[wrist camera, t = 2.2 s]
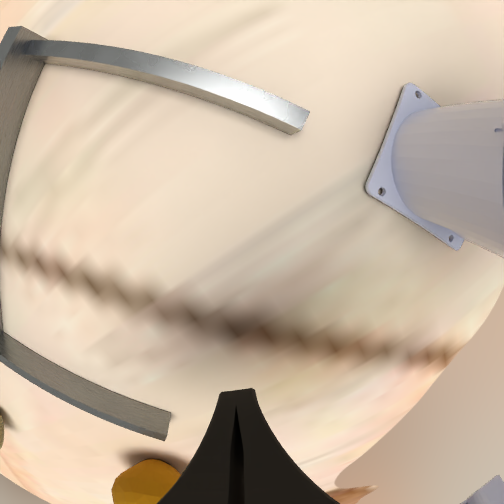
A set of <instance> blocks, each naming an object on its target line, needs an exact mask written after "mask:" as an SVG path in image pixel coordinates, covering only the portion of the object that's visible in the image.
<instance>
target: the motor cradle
mask: <svg viewBox="0 0 504 504" xmlns="http://www.w3.org/2000/svg"><path fill="white" fill-rule="evenodd" d="M45 63H47V64H56V65H63V66H71V67H77V68H83V69H89V70H94V71H100V72H105V73H110V74H114V75H119V76H123V77H127V78H132V79H136V80H140V81H144V82H147V83H151V84H155V85H158V86H162V87H165V88H169V89H172V90H175V91H179V92H182V93H185V94H188V95H191V96H194V97H197V98H200V99H203V100H206V101H209V102H211V103H214V104H217V105H220V106H222V107H225V108H228V109H230V110H233V111H236V112H238V113H241V114H243V115H246V116H248V117H251V118H253V119H255V120H258V121H260V122H262V123H265V124H267V125H269V126H272V127H274V128H276V129H278V130H281V131H283V132H285V133H287V134H289V135H292V134H294V133H296V132H299V131H301V130H302V128H303V126H304V124H305V122H306V119H307V117H308V115H309V113H310V111H308V110H306V109H304V108H302V107H300V106H297V105H295V104H293V103H291V102H289V101H287V100H285V99H282V98H280V97H278V96H276V95H273V94H271V93H269V92H266V91H264V90H262V89H259V88H257V87H254V86H252V85H249V84H247V83H244V82H241V81H239V80H236V79H233V78H231V77H228V76H225V75H222V74H219V73H216V72H213V71H210V70H207V69H204V68H201V67H198V66H194V65H191V64H188V63H184V62H180V61H177V60H173V59H169V58H165V57H161V56H157V55H153V54H148V53H144V52H139V51H134V50H129V49H124V48H118V47H112V46H105V45H98V44H90V43H80V42H69V41H52V40H47V39H45V38H43V37H42V36H40V35H38V34H36V33H34V32H32V31H30V30H29V29H27V28H25V27H23V26H17V27H9V28H8V30H7V32H6V34H5V35H4V37H3V39H2V41H1V43H0V234H1V222H2V213H3V205H4V197H5V191H6V185H7V179H8V174H9V169H10V164H11V160H12V156H13V152H14V148H15V144H16V140H17V136H18V133H19V129H20V126H21V123H22V120H23V117H24V114H25V111H26V108H27V105H28V102H29V99H30V97H31V94H32V92H33V89H34V87H35V84H36V82H37V79H38V77H39V75H40V72H41V70H42V68H43V66H44V64H45ZM0 361H1V362H2V363H3V364H5V365H6V366H8V367H9V368H10V369H12V370H13V371H15V372H16V373H18V374H19V375H21V376H22V377H24V378H25V379H27V380H29V381H30V382H32V383H33V384H35V385H37V386H38V387H40V388H42V389H44V390H45V391H47V392H49V393H51V394H52V395H54V396H56V397H58V398H60V399H62V400H63V401H65V402H67V403H69V404H71V405H73V406H75V407H77V408H79V409H82V410H84V411H86V412H88V413H90V414H92V415H95V416H97V417H99V418H101V419H104V420H106V421H109V422H111V423H114V424H116V425H119V426H121V427H124V428H127V429H129V430H132V431H135V432H138V433H141V434H143V435H147V436H150V437H153V438H156V439H159V440H162V441H165V439H166V437H167V433H168V427H169V422H170V416H171V413H170V412H167V411H164V410H161V409H158V408H155V407H152V406H149V405H146V404H143V403H140V402H138V401H135V400H132V399H130V398H127V397H124V396H122V395H119V394H117V393H115V392H112V391H110V390H107V389H105V388H103V387H101V386H98V385H96V384H94V383H92V382H90V381H87V380H85V379H83V378H81V377H79V376H77V375H75V374H73V373H71V372H69V371H67V370H65V369H63V368H61V367H60V366H58V365H56V364H54V363H52V362H51V361H49V360H47V359H45V358H44V357H42V356H40V355H38V354H37V353H35V352H33V351H32V350H30V349H29V348H27V347H25V346H24V345H22V344H21V343H19V342H18V341H16V340H15V339H13V338H12V337H10V336H9V335H7V334H6V333H4V332H3V325H2V316H1V304H0Z"/></svg>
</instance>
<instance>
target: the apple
mask: <svg viewBox="0 0 504 504" xmlns="http://www.w3.org/2000/svg"><path fill="white" fill-rule="evenodd" d="M180 476H181V474H180V473H179V472H178V471H177V470H176V469H175V468H174V467H172V466H171V465H169V464H167V463H165V462H163V461H161V460H156V459H146V460H144V461H141V462H140V463H138V464H136V465H134V466H133V467H131V468H129V469H127V470H126V471H124V472H123V473H121V474H120V475H119V476H118V477H117V478H116V479H115V482H114V484H113V487H112V496H113V502H114V504H157V503H158V502H159V501H160V499H161V498H162V497H163V496H164V495H165V494H166V493H167V492H168V491H169V490H170V489H171V488H172V486H173V485H174V484H175V483H176V481H177V480H178V479H179V477H180Z"/></svg>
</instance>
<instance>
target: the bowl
mask: <svg viewBox="0 0 504 504" xmlns="http://www.w3.org/2000/svg"><path fill="white" fill-rule="evenodd" d="M3 440H4V423H3V419H2V417H1V415H0V449H1V447H2V445H3Z"/></svg>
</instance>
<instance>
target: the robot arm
mask: <svg viewBox="0 0 504 504" xmlns="http://www.w3.org/2000/svg"><path fill="white" fill-rule="evenodd" d="M415 92H416V93H417V94H418V98H417V97H416V95H415ZM365 188H366V192H367V193H368V194H369V195H370V196H372V197H374V198H376V199H377V200H379V201H381V202H382V203H384V204H386V205H387V206H389V207H391V208H392V209H394V210H396V211H397V212H399V213H400V214H402V215H404V216H405V217H407V218H408V219H410V220H411V221H413V222H414V223H416V224H418V225H419V226H421V227H422V228H424V229H425V230H427V231H428V232H429V233H431V234H432V235H434V236H435V237H437V238H438V239H440V240H441V241H442V242H444V243H445V244H447V245H448V246H449V247H451V248H452V249H454V250H459V249H460V248H461V246H462V243H463V241H464V240H467V241H469V242H471V243H473V244H476V245H478V246H480V247H482V248H484V249H486V250H488V251H490V252H493V253H495V254H497V255H499V256H501V257H503V258H504V99H503V100H491V101H481V102H472V103H464V104H457V105H450V106H443V107H441V106H439V105H438V104H437V103H436V102H435V101H434V100H433V99H431V98H430V97H429V96H428V95H427V94H425V93H424V92H423V91H422V90H421V89H419V88H418V87H417V86H415V85H414V84H412V83H407V84H405V85H404V87H403V90H402V93H401V96H400V99H399V101H398V104H397V107H396V110H395V113H394V115H393V118H392V121H391V123H390V126H389V129H388V131H387V134H386V136H385V139H384V142H383V144H382V147H381V149H380V152H379V154H378V156H377V159H376V161H375V164H374V166H373V168H372V171H371V173H370V176H369V178H368V180H367V182H366V186H365ZM380 188H382V190H383V191H382V194H381V195H379V193H378V190H379V189H380ZM449 237H450V239H449ZM157 504H340V503H338V502H337V501H335V500H334V499H333V498H332V497H330V496H329V495H328V494H327V493H325V492H324V491H323V490H322V489H321V488H319V487H318V486H317V485H316V484H315V483H314V482H313V481H312V480H311V479H310V478H309V477H308V476H307V475H306V474H305V473H304V472H303V471H302V470H301V469H300V468H299V467H298V466H297V465H296V463H295V462H294V461H293V460H292V459H291V457H290V456H289V455H288V454H287V452H286V451H285V450H284V448H283V447H282V446H281V444H280V443H279V441H278V440H277V438H276V437H275V435H274V434H273V432H272V430H271V429H270V427H269V425H268V423H267V421H266V420H265V418H264V416H263V414H262V411H261V409H260V407H259V404H258V401H257V397H256V393H255V390H254V389H252V388H249V389H242V390H235V391H227V392H221V393H220V394H219V398H218V402H217V405H216V408H215V411H214V414H213V417H212V419H211V422H210V424H209V427H208V429H207V431H206V434H205V436H204V438H203V440H202V442H201V444H200V446H199V448H198V450H197V451H196V453H195V455H194V457H193V458H192V460H191V462H190V463H189V465H188V466H187V468H186V469H185V471H184V472H183V473H182V475H181V476H180V477H179V479H178V480H177V481H176V483H175V484H174V485H173V486H172V488H171V489H170V490H169V491H168V492H167V493H166V494H165V495H164V496H163V497H162V498H161V499H160V501H159V502H158V503H157ZM460 504H504V482H503V481H502V479H501V477H500V476H499V475H496V476H495V477H494V478H492V479H491V480H490V481H489V482H487V483H486V484H485V485H483V486H482V487H481V488H480V489H478V490H477V491H475V492H474V493H473V494H472V495H471V496H469V498H467V500H465V501H464V502H462V503H460Z"/></svg>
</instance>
